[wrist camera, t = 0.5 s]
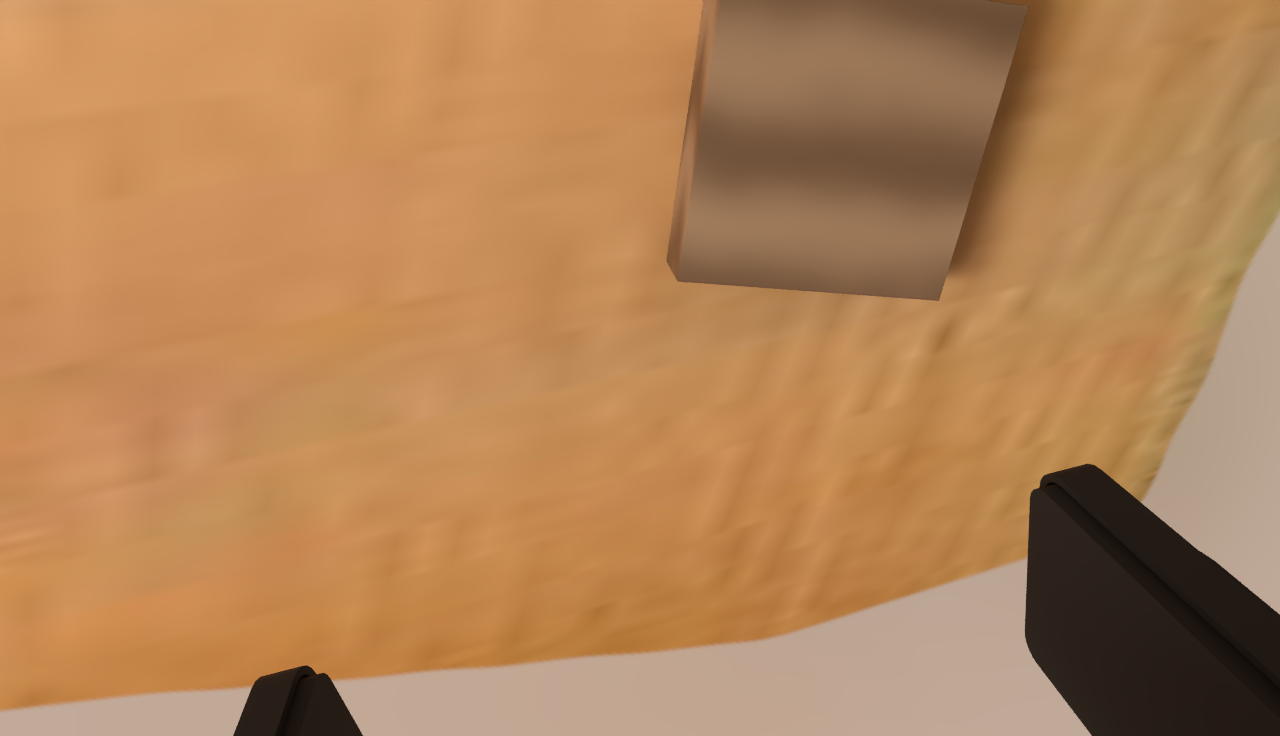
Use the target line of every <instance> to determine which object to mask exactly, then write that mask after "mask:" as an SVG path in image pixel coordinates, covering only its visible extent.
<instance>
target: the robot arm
mask: <svg viewBox="0 0 1280 736" xmlns="http://www.w3.org/2000/svg"><path fill="white" fill-rule="evenodd" d="M1027 567H1028V568H1027V591H1026V592H1027V593H1026V618H1025V638H1026V642H1027V645H1028V648H1029V650H1030V652H1031V654H1032V656H1033V658H1034V660H1035V661H1036V663H1037V664H1038V665H1039V667H1040V668H1041V669H1042V671H1043V672H1044V673H1045V675H1046V676H1047V677H1048V679H1049V680H1050V681H1051V682H1052V684H1053V685H1054V686H1055V688H1056V689H1057V690H1058V692H1059V693H1060V694H1061V695H1062V697H1063V698H1064V699H1065V701H1066V702H1067V703H1068V705H1069V706H1070V707H1071V708H1072V710H1073V711H1074V713H1075V714H1076V715H1077V717H1078V718H1079V719H1080V720H1081V722H1082V723H1083V724H1084V726H1085V727H1086V728H1087V730H1088V731H1089V732H1090V734H1091V735H1092V736H1280V615H1279V614H1278V613H1277V612H1276V611H1274V610H1273V609H1272V608H1271V607H1270V606H1268V605H1267V604H1266V603H1265V602H1264V601H1262V600H1261V599H1260V598H1259V597H1258V596H1256V595H1255V594H1254V593H1253V592H1252V591H1250V590H1249V589H1248V588H1247V587H1245V586H1244V585H1243V584H1242V583H1241V582H1239V581H1238V580H1237V579H1236V578H1235V577H1233V576H1232V575H1231V574H1230V573H1228V572H1227V571H1226V570H1225V569H1224V568H1222V567H1221V566H1220V565H1219V564H1218V563H1216V562H1215V561H1214V560H1212V559H1211V558H1209V557H1208V556H1206V555H1205V554H1203V553H1202V552H1200V551H1198V550H1197V549H1196V548H1195V547H1193V546H1192V545H1191V544H1190V543H1189V542H1188V541H1186V540H1185V539H1184V538H1183V537H1182V536H1180V535H1179V534H1178V533H1176V532H1175V531H1174V530H1173V529H1172V528H1171V527H1169V526H1168V525H1167V524H1166V523H1165V522H1163V521H1162V520H1161V519H1160V518H1159V517H1157V516H1156V515H1155V514H1154V513H1153V512H1151V511H1150V510H1149V509H1148V508H1147V507H1145V506H1144V505H1143V504H1142V503H1141V502H1139V501H1138V500H1137V499H1136V498H1135V497H1133V496H1132V495H1131V494H1130V493H1129V492H1127V491H1126V490H1125V489H1124V488H1123V487H1121V486H1120V485H1119V484H1118V483H1117V482H1115V481H1114V480H1113V479H1112V478H1111V477H1109V476H1108V475H1107V474H1106V473H1104V472H1103V471H1102V470H1101V469H1099V468H1098V467H1096V466H1095V465H1091V464H1085V465H1081V466H1077V467H1073V468H1069V469H1065V470H1062V471H1058V472H1054V473H1050V474H1047V475H1044V476H1043V478H1042V479H1041V482H1040V487H1039V488H1038V489H1034V490H1033V491H1032V493H1031V496H1030V514H1029V540H1028V566H1027ZM233 736H363V735H362V733H361V732H360V730H359V728H358V726H357V724H356V723H355V721H354V719H353V717H352V716H351V714H350V712H349V710H348V709H347V707H346V705H345V703H344V702H343V700H342V698H341V696H340V695H339V693H338V691H337V689H336V688H335V686H334V684H333V682H332V681H331V679H330V678H329V676H328V675H327V674H325V673H321V674H316V673H315V672H314V670H313V669H312V668H311V667H309V666H301V667H297V668H293V669H289V670H285V671H281V672H277V673H274V674H270V675H266V676H262V677H260V678H259V679H258V680H256V681H255V683H254V685H253V687H252V689H251V691H250V694H249V697H248V699H247V702H246V704H245V707H244V710H243V712H242V715H241V717H240V720H239V722H238V725H237V727H236V730H235V733H234V735H233Z"/></svg>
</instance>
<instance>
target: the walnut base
mask: <svg viewBox="0 0 1280 736" xmlns="http://www.w3.org/2000/svg"><path fill="white" fill-rule="evenodd" d="M1028 8H1029V6H1022V5H1015V4H1009V3H1002V2H996V1H989V0H704V4H703V11H702V18H701V24H700V31H699V38H698V45H697V52H696V59H695V66H694V73H693V80H692V87H691V94H690V101H689V108H688V115H687V122H686V129H685V136H684V143H683V150H682V157H681V164H680V171H679V178H678V185H677V192H676V199H675V206H674V213H673V220H672V227H671V234H670V241H669V248H668V255H667V263H668V265H669V266H670V268H671V270H672V272H673V274H674V276H675V278H676V279H677V281H680V282H693V283H706V284H720V285H733V286H747V287H760V288H774V289H787V290H801V291H814V292H828V293H841V294H855V295H868V296H882V297H895V298H908V299H922V300H935V301H939V299H940V295H941V292H942V289H943V286H944V282H945V279H946V276H947V273H948V269H949V266H950V263H951V259H952V256H953V253H954V250H955V246H956V243H957V240H958V237H959V233H960V230H961V227H962V224H963V220H964V217H965V214H966V210H967V207H968V204H969V201H970V197H971V194H972V191H973V188H974V184H975V181H976V178H977V174H978V171H979V168H980V165H981V161H982V158H983V155H984V152H985V148H986V145H987V142H988V139H989V135H990V132H991V129H992V125H993V122H994V119H995V116H996V112H997V109H998V106H999V103H1000V99H1001V96H1002V93H1003V89H1004V86H1005V83H1006V80H1007V76H1008V73H1009V70H1010V67H1011V63H1012V60H1013V57H1014V53H1015V50H1016V47H1017V44H1018V40H1019V37H1020V34H1021V31H1022V27H1023V24H1024V21H1025V18H1026V14H1027V11H1028Z"/></svg>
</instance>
